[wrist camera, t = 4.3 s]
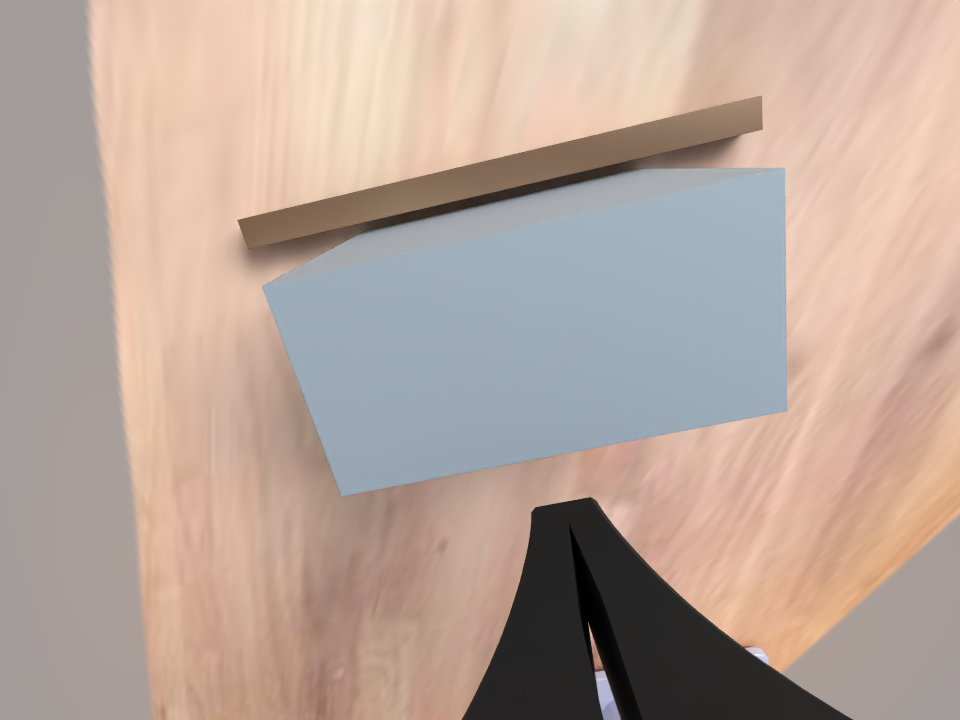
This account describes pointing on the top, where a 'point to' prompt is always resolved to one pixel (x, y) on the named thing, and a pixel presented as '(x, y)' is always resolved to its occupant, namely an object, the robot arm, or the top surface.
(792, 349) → the top surface
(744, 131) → the batten
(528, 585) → the robot arm
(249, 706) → the top surface
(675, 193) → the block
